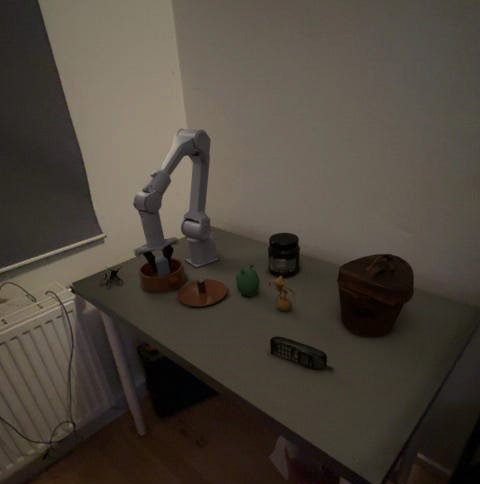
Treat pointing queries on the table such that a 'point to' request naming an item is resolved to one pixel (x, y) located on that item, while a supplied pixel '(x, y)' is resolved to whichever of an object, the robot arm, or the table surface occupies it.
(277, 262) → the supplement container
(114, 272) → the creature
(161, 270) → the block
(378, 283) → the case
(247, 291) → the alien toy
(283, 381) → the table surface
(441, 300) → the table surface
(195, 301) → the lid
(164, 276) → the pot
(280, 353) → the mobile phone
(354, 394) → the table surface
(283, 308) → the figurine
